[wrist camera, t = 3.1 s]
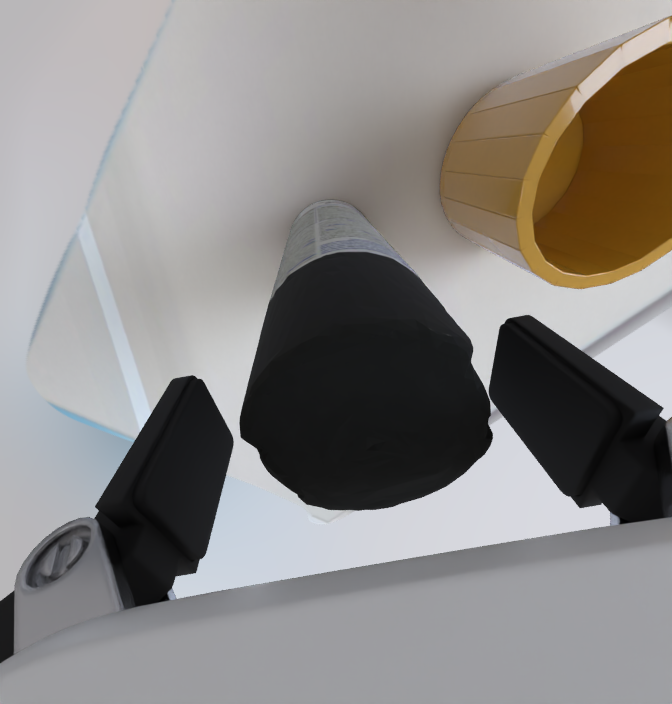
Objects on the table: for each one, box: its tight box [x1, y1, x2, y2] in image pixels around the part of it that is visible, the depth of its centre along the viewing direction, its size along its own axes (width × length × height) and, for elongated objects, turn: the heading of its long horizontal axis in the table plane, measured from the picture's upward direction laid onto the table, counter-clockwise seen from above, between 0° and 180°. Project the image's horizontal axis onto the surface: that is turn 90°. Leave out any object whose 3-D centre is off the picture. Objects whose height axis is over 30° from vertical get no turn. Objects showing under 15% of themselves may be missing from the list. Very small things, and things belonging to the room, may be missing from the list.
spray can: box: [240, 200, 493, 511], centre depth 15 cm, size 7×7×20 cm
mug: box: [440, 16, 672, 289], centre depth 18 cm, size 14×11×10 cm
